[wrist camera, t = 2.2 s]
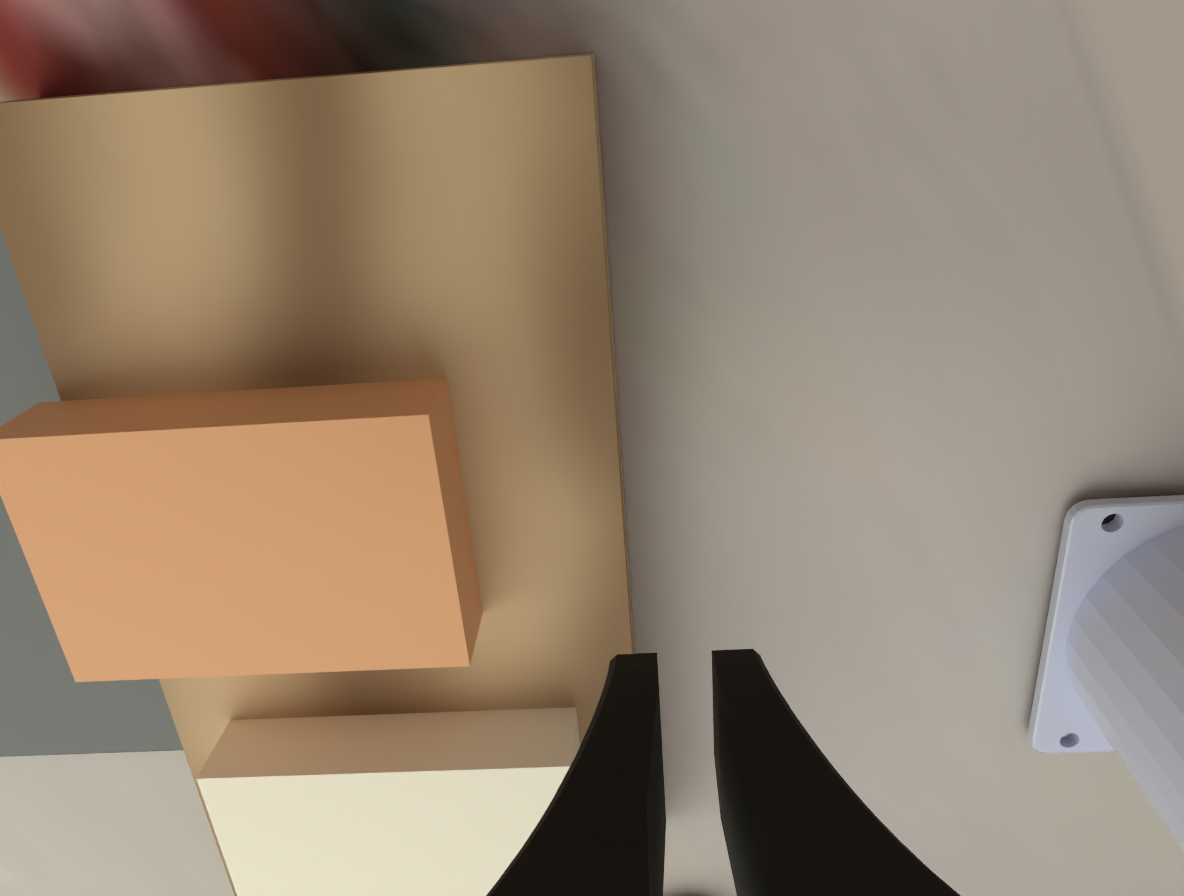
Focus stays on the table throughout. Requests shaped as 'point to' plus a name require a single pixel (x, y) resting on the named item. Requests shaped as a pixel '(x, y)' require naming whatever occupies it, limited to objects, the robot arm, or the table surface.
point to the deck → (361, 322)
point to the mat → (19, 617)
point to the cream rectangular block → (383, 799)
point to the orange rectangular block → (247, 530)
